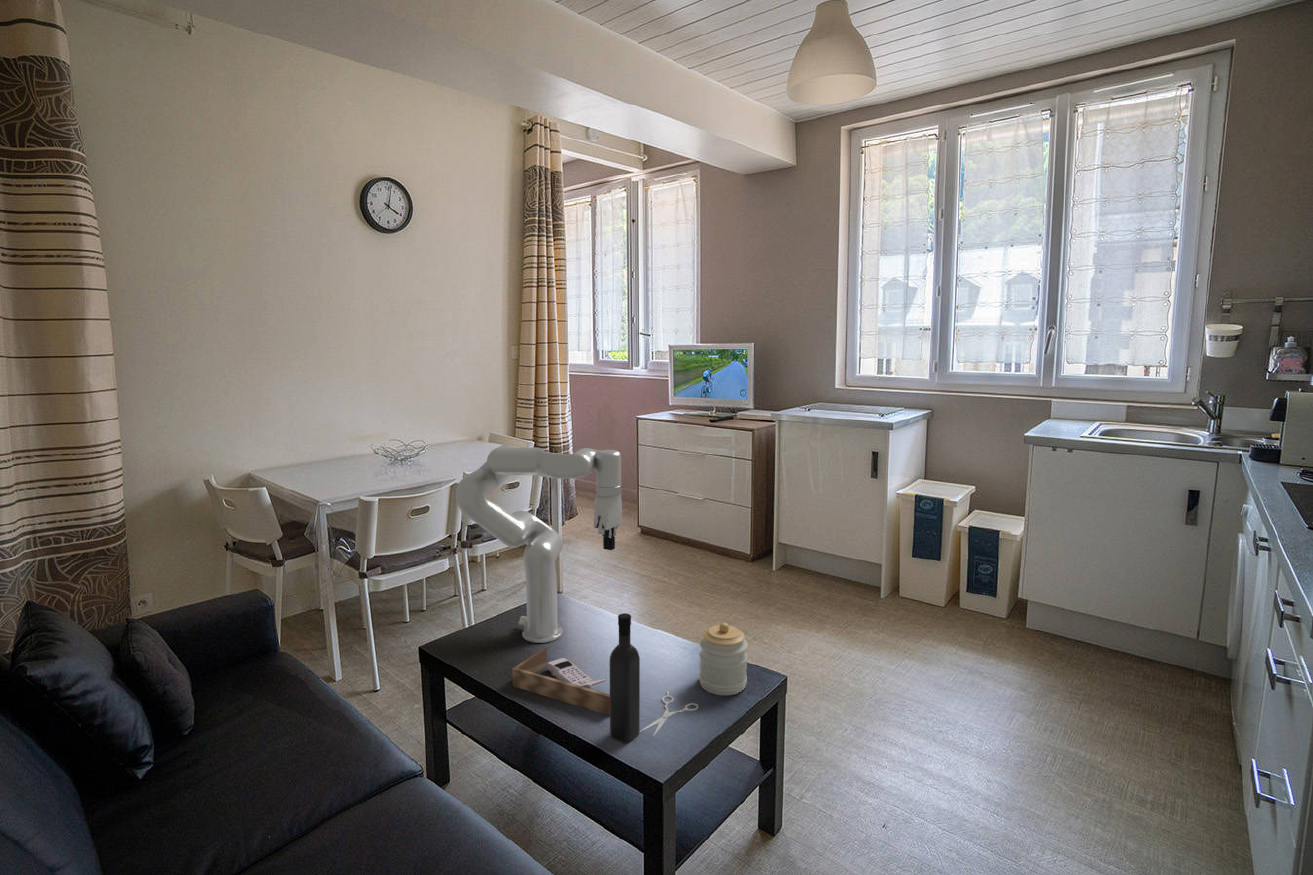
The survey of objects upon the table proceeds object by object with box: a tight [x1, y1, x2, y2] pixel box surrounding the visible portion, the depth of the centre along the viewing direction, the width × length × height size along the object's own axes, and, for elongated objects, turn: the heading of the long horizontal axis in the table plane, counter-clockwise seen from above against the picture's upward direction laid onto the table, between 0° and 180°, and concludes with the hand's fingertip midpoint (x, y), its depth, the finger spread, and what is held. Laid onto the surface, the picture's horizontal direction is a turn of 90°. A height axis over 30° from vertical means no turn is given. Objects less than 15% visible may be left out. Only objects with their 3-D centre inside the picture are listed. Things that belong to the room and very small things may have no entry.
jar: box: [698, 622, 749, 696], centre depth 182 cm, size 13×13×18 cm
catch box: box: [511, 647, 610, 716], centre depth 181 cm, size 31×14×5 cm, turn 63°
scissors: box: [639, 691, 699, 737], centre depth 168 cm, size 11×1×20 cm
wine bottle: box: [609, 613, 641, 744], centre depth 158 cm, size 6×6×30 cm
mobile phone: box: [546, 657, 608, 689], centre depth 184 cm, size 6×6×25 cm
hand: (609, 548), depth 207 cm, fingers closed
